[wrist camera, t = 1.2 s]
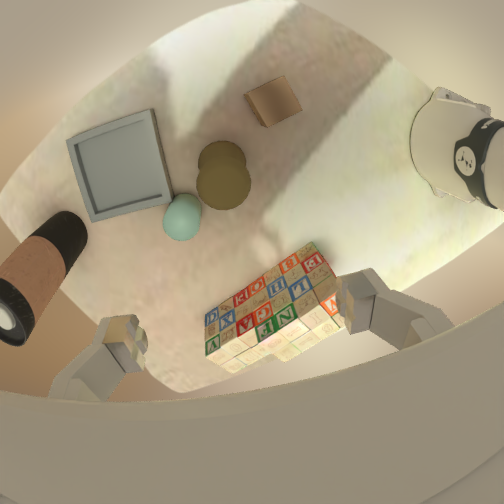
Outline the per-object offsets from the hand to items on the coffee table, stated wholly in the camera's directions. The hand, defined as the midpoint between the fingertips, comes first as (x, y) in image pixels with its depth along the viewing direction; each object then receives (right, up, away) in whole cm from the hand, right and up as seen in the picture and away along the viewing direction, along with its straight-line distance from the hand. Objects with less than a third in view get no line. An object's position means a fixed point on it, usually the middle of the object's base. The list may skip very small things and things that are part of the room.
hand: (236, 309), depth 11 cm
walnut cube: (+3, +21, +20) cm, 29 cm away
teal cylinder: (-8, +8, +26) cm, 28 cm away
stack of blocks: (+3, -4, +35) cm, 35 cm away
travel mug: (-27, +5, +25) cm, 37 cm away
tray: (-16, +13, +22) cm, 30 cm away
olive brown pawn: (-3, +13, +24) cm, 27 cm away
